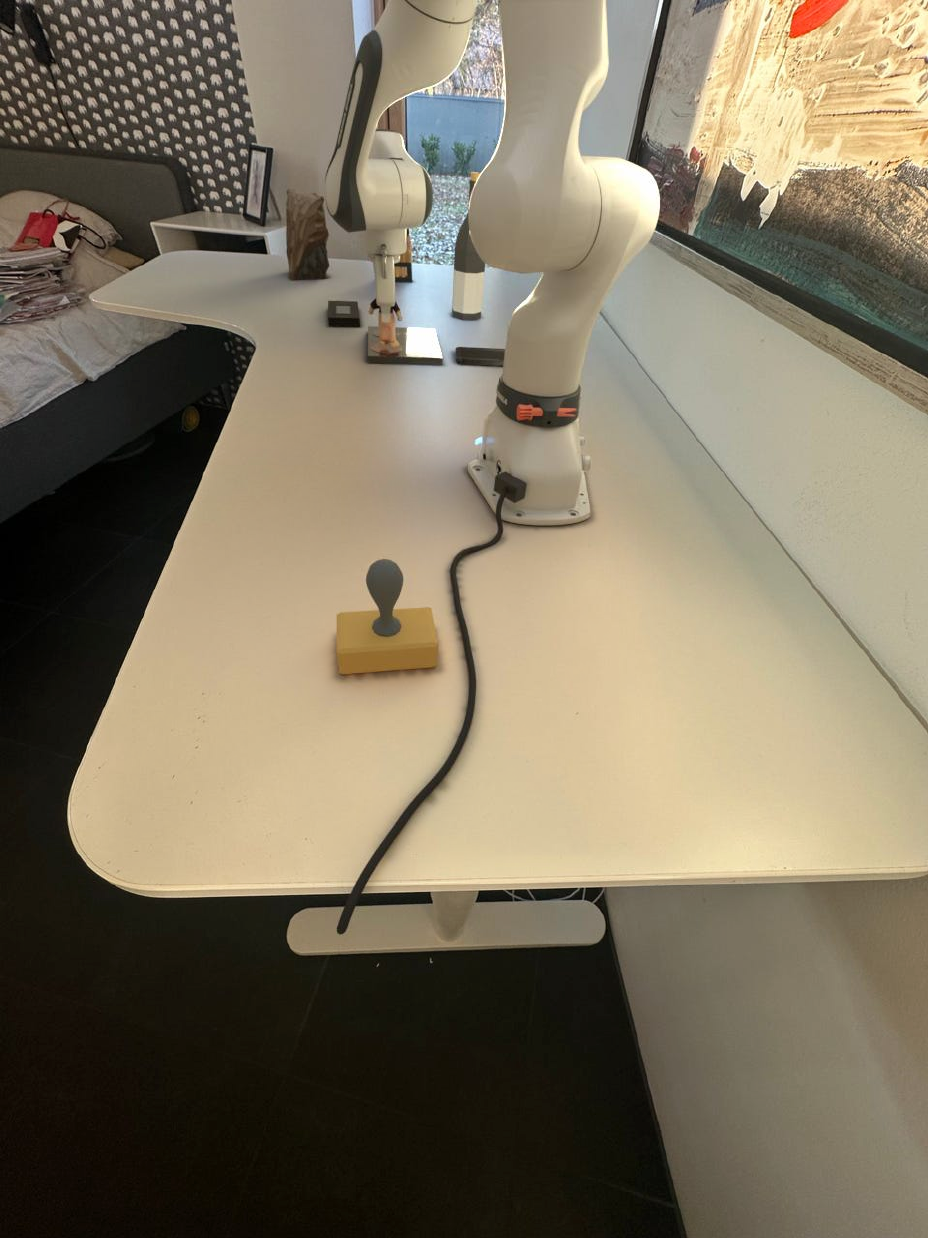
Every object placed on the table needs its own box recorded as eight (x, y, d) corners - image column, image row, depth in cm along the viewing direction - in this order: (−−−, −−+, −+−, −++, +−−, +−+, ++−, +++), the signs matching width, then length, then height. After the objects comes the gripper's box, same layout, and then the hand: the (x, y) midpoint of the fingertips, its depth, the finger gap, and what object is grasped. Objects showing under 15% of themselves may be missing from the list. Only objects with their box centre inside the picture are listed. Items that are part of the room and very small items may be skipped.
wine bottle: (447, 317, 144) (454, 171, 124) (455, 309, 150) (462, 169, 129) (477, 321, 143) (488, 175, 123) (484, 313, 149) (495, 172, 128)
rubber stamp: (430, 629, 61) (433, 541, 52) (437, 668, 57) (441, 580, 48) (339, 635, 59) (328, 545, 51) (339, 676, 55) (327, 586, 47)
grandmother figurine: (405, 343, 121) (405, 276, 112) (401, 348, 118) (401, 280, 109) (371, 338, 121) (369, 272, 113) (366, 344, 118) (363, 276, 110)
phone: (455, 346, 125) (519, 349, 126) (454, 351, 126) (519, 354, 127) (457, 358, 119) (524, 361, 121) (457, 364, 120) (524, 367, 121)
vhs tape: (328, 326, 132) (327, 317, 131) (328, 309, 143) (328, 300, 141) (360, 327, 134) (359, 318, 132) (358, 309, 144) (357, 301, 142)
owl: (289, 269, 169) (278, 187, 155) (330, 270, 171) (324, 189, 157) (289, 279, 160) (277, 194, 146) (333, 280, 163) (326, 196, 149)
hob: (442, 365, 119) (442, 357, 118) (368, 363, 117) (367, 355, 116) (434, 335, 133) (434, 327, 132) (368, 332, 131) (367, 325, 130)
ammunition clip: (377, 281, 166) (375, 233, 158) (376, 279, 167) (375, 232, 159) (412, 281, 168) (412, 235, 160) (411, 280, 169) (411, 233, 161)
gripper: (401, 252, 99) (402, 334, 109) (397, 231, 114) (398, 305, 123) (366, 250, 99) (370, 333, 108) (367, 229, 113) (370, 303, 123)
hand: (385, 318), depth 116 cm, fingers closed on grandmother figurine, 3 cm apart
